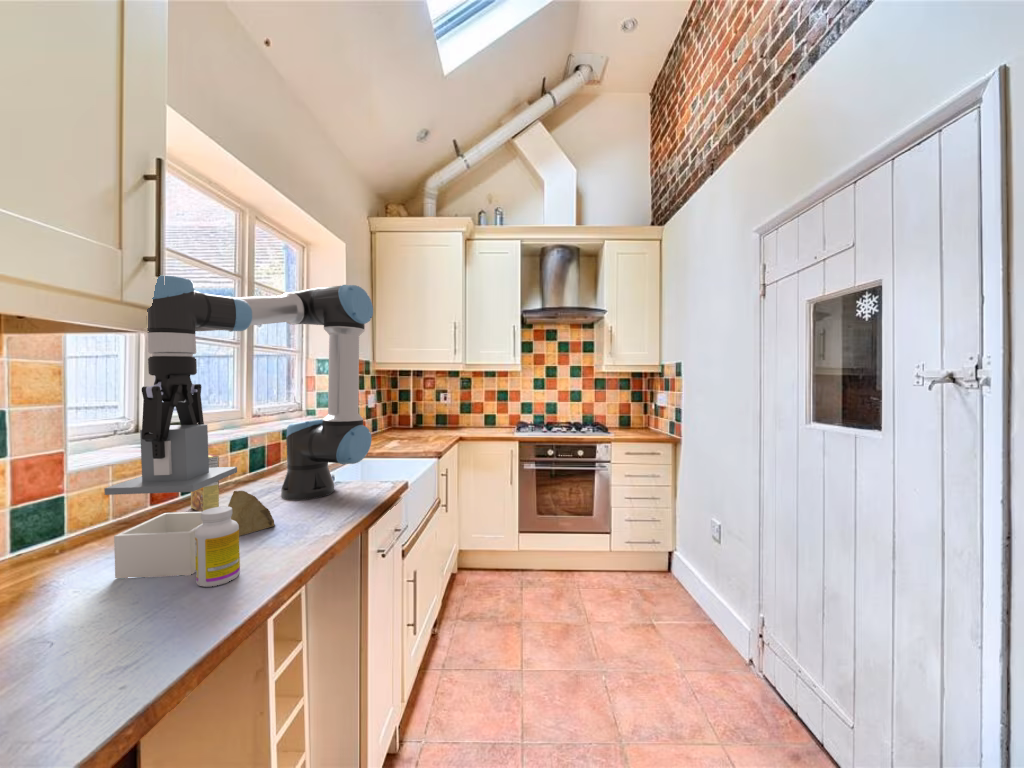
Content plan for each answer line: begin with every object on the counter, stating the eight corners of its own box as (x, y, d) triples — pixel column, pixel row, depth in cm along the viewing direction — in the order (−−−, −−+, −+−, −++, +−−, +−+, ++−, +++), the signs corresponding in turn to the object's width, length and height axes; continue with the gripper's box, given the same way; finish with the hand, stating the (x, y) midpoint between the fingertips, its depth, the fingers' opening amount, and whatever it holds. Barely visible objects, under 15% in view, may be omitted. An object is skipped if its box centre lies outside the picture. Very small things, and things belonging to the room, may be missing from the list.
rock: (282, 511, 109) (240, 508, 107) (278, 490, 104) (234, 487, 102) (266, 550, 100) (220, 548, 99) (261, 530, 95) (212, 526, 93)
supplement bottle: (248, 573, 80) (247, 506, 79) (214, 590, 73) (213, 517, 73) (221, 569, 82) (220, 503, 81) (186, 585, 75) (185, 514, 75)
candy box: (190, 508, 119) (188, 454, 119) (207, 504, 122) (206, 452, 122) (202, 514, 114) (201, 457, 114) (220, 510, 117) (219, 455, 117)
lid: (163, 474, 92) (161, 423, 91) (237, 472, 93) (235, 421, 93) (104, 494, 77) (102, 433, 76) (193, 491, 78) (191, 431, 78)
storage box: (165, 549, 91) (164, 512, 91) (229, 547, 92) (229, 510, 92) (115, 578, 78) (114, 536, 78) (190, 575, 79) (189, 532, 79)
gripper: (185, 357, 93) (189, 459, 94) (109, 353, 74) (115, 483, 74) (221, 356, 94) (225, 458, 95) (156, 353, 74) (161, 482, 75)
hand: (176, 469), depth 85 cm, fingers closed on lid, 7 cm apart
